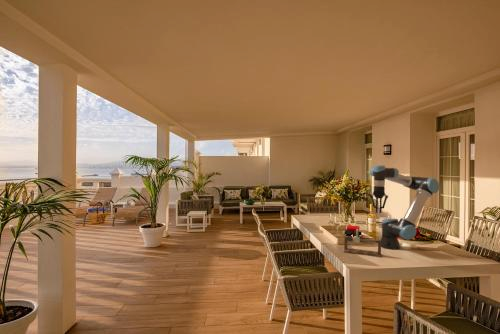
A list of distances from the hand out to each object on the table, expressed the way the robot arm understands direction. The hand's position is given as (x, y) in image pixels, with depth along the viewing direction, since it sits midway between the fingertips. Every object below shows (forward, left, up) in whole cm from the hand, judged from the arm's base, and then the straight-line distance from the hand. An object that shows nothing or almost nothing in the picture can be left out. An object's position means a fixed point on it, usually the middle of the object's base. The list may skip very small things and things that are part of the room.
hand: (378, 217), depth 222 cm
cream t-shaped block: (+12, -9, -20) cm, 25 cm away
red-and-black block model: (-12, -46, -29) cm, 55 cm away
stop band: (+14, -10, -20) cm, 26 cm away
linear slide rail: (+9, -6, -28) cm, 30 cm away
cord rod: (+9, -6, -20) cm, 23 cm away
